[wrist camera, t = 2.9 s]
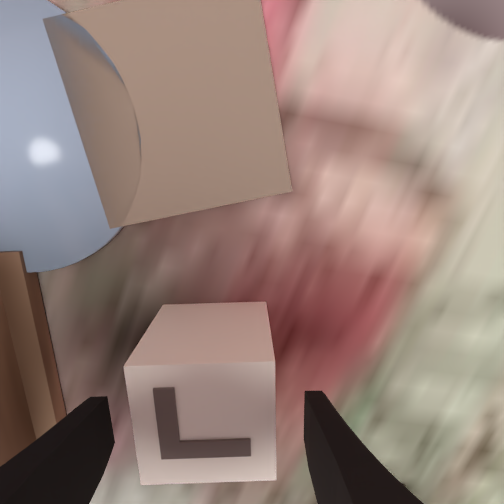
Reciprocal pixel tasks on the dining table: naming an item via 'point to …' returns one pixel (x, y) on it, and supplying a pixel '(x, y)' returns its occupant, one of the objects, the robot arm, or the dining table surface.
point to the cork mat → (176, 105)
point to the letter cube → (204, 395)
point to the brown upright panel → (24, 360)
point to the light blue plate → (45, 145)
